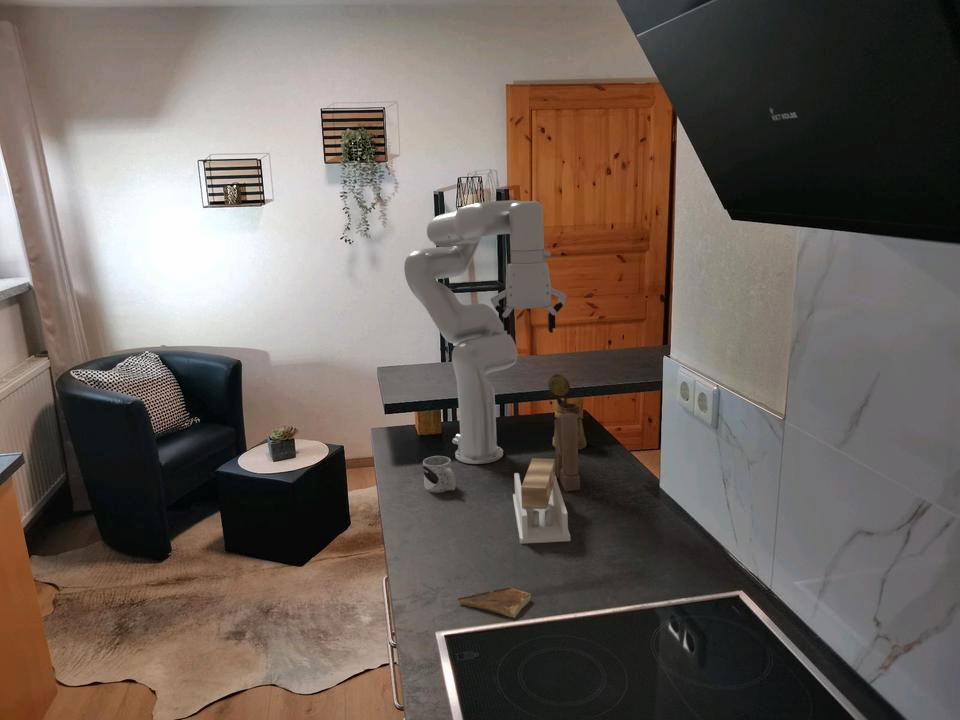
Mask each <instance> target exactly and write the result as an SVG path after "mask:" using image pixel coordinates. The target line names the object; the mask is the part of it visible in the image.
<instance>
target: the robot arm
mask: <svg viewBox="0 0 960 720" xmlns="http://www.w3.org/2000/svg"><path fill="white" fill-rule="evenodd" d="M544 233H545V232H544V207H543V204H542V202H539V201H537V200H536V201H535V200H533V201H532V200H525V201H522V200H515V199H513V200H512V199H511V200H494V201H493V200H492V201H491V200H490V201H481V202H476V203H471V204H468V205H464V206H461V207H459V208H458V209H457V210H453V211H450V212H449V211H448V212H446V213H442V214H439V215H437V216H434V217H433V218H432V219H431V220H430V221H429V223H428V225H427V228H426V236H427V238H428V239H429V241H430V242H431V243H432V244H433V245H434V246H437V247H429V248H428V247H427V248H422V249H417V250H415V251H413V252H412V251H411V253H410V254H408V255H407V257H406V258H405V260H404V264H403V265H404V267H403V269H404V271H403V272H404V276H405V277H404V278H405V280H406V282H407V285H408V287H409V290H410V291H411V292H412V294H413V295H414V296H415V297H416V298H417V300H418V301H419V302H420V303H421V304H422V306H423V307H424V308H425V309H426V311H427V313H428V315H429V316H430V317H431V319H432V321H433V323H434V325H435V326H436V328H437V329H438V331H439V333H440V334H441V336H442V337H443V338H444V340H446V341H447V343H450V344H456V345H455V346H454V347H453V348H452V349H453V350H452V352H451V361H452V366H453V369H454V374H455V380H456V389H457V401H458V402H457V403H458V418H459V433H457V434H455V436H454V437H453V438H452V440H451V442H452V443H453V444H454V445H457V449H456V450H455V453H454V455H455V459H456V460H458V461H459V462H461V463H464V464H471V465H482V464H483V465H484V464H490V463H493V462H496V461H498V460H500V459H501V458H502V457H503V456H504V450H503V448H501V446H498V444H497V442H498V441H497V440H498V439H497V421H496V419H497V418H496V401H495V400H496V398H495V397H496V396H495V394H496V393H495V388H494V386H493V384H492V383H491V382H490V380H489V379H488V377H487V374H490V373H493V372H494V373H495V372H498V371H503V370H507V369H509V368H511V367H513V366H514V365H515V363H516V362H517V360H518V350H517V349H518V348H517V346H516V343H515V341H514V338H513V337H512V336H511V334H512V332H511V317H510V314H511V312H512V311H513V310H521V309H542V308H543V309H544V308H545V309H546V310H548V314H547V330H548V332H549V333H553V332H554V330H553V329H556V315H557V314H558V312H559V311H560V310H561V309H562V308H563V306H564V304H565V302H566V300H567V298H568V295H567V294H566V293H564V292H561V291H560V290H557V289H555V288H553V287H552V285H551V277H550V270H549V269H550V268H549V265H548V262H545V261H546V259H548V258H551V256H552V255H551V254H552V253H551V252H552V251H547V250H545V236H544V235H545V234H544ZM496 235H509V245H510V246H509V247H510V263H507V265H506V274H505V289H504V290H502V291H501V292H499V293H497V294H495V295H494V296H492V297H490V299H489V300H490V302H491V304H492V306H493V307H494V309H493V308H492V307H491V306H489V305H488V304H485V303H472V304H462V303H461V302H460V301H459V299H458V298H457V295H456V294H455V293H454V292H453V291H452V290H451V289H450V288H449V287H448V286H447V285H445V284H444V283H441V282H439V281H438V280H440V279H441V280H442V279H449V278H457V277H460V276H462V275H464V274H465V273H466V272H467V271H468V269H469V267H470V265H471V264H472V261H473V259H474V257H475V254H476V252H477V249H478V247H479V245H480V243H481V239H482V237H489V236H496ZM552 295H553V296H555V297H556V298H559V299H558V301H557V302H556V304H555V305H554V306H552ZM503 298H505V302H506V306H505V307H504V308H503V307H502V306H501V305H500V303H499V301H500V300H503ZM497 312H498V313H497ZM498 314H500V315H501V316H502V318H503V320H501V319H500V317H499V316H498ZM502 321H503V322H502Z"/></svg>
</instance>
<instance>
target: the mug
mask: <svg viewBox="0 0 960 720" xmlns="http://www.w3.org/2000/svg"><path fill="white" fill-rule="evenodd" d="M422 468H423V483H424V486H423V487H424V490H425V491H426V492H428V493H433V494H438V493H439V494H440V493H444V492H445V493H446V492H448V491H455V490H456V486H457V485H456V483H457V482H456V474H455V472H454V471H453V470H452V459H451V457H448V456H445V455H444V456H443V455H434V456H428V457H427V458H424V459H423V460H422Z"/></svg>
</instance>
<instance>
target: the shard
mask: <svg viewBox="0 0 960 720" xmlns="http://www.w3.org/2000/svg"><path fill="white" fill-rule="evenodd" d="M530 600H531V593H530V592H525V591H523V590H519V589H515V588H513V587H511V586H510V587H506V588H500V589H495V590H494V589H493V590H490V591H484V592H481V593H477V594H473V595H469V596H464V597H459V598H457V601H459V602H460V605H461V606H462V605H463V606H466V607H467V606H468V607H473V608H477V609H481V610H485V611H490V612H492V613H497V614H499V615H502V616H506V617H508V618H513V619H515V618H516V617H517V615H519V613H520V612H521V611H522V609H523V608H524V607H525V606H526V605H527V604H528V603H529V602H530Z"/></svg>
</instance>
